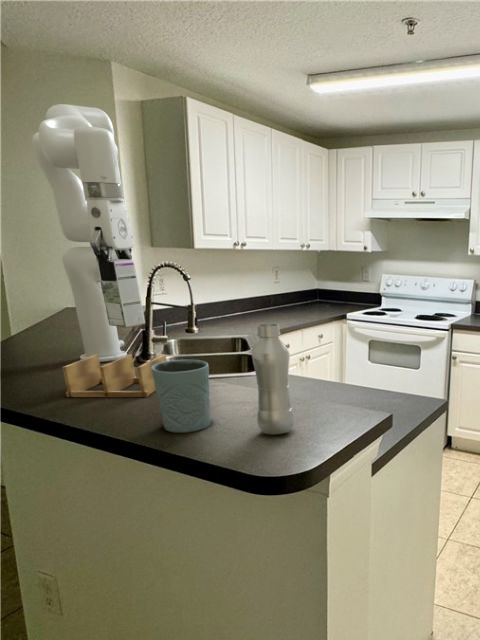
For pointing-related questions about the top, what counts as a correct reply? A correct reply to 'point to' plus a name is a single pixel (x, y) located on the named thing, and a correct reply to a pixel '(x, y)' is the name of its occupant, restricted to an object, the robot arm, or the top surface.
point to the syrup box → (123, 295)
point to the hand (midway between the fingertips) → (118, 278)
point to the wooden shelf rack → (109, 377)
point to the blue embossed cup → (183, 394)
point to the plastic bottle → (272, 381)
